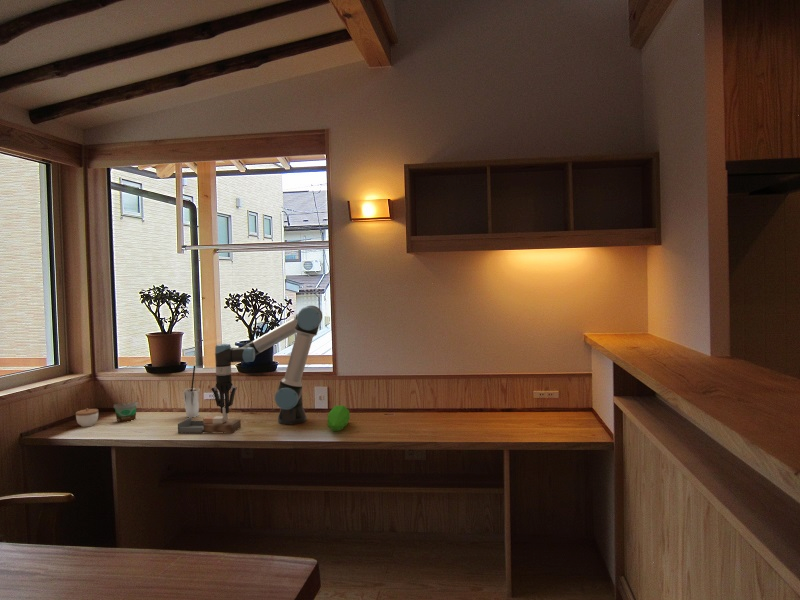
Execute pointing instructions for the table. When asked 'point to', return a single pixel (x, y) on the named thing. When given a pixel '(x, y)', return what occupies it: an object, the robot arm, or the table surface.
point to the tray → (190, 426)
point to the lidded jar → (87, 417)
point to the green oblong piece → (338, 418)
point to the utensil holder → (192, 399)
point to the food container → (125, 411)
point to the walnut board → (223, 426)
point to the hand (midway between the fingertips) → (225, 419)
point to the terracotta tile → (208, 419)
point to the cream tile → (218, 420)
